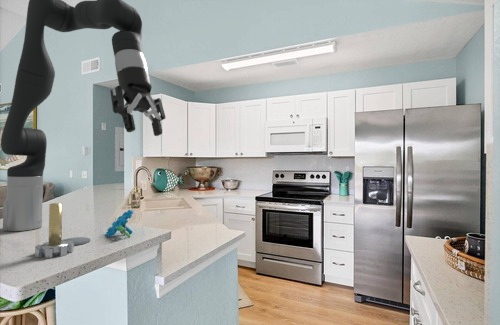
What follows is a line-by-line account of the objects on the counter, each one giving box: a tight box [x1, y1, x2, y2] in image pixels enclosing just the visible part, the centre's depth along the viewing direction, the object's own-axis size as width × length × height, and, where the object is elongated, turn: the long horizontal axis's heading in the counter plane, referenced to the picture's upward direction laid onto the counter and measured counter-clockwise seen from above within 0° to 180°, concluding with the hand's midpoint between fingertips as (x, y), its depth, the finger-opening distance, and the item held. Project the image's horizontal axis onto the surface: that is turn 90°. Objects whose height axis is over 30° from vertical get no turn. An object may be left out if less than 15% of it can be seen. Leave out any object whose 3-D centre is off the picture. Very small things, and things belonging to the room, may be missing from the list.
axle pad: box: [63, 236, 91, 247], centre depth 76 cm, size 8×8×1 cm
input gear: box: [34, 202, 75, 259], centre depth 68 cm, size 8×8×12 cm
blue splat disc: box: [105, 209, 134, 238], centre depth 85 cm, size 11×6×10 cm
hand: (145, 133), depth 68 cm, fingers open, 8 cm apart
